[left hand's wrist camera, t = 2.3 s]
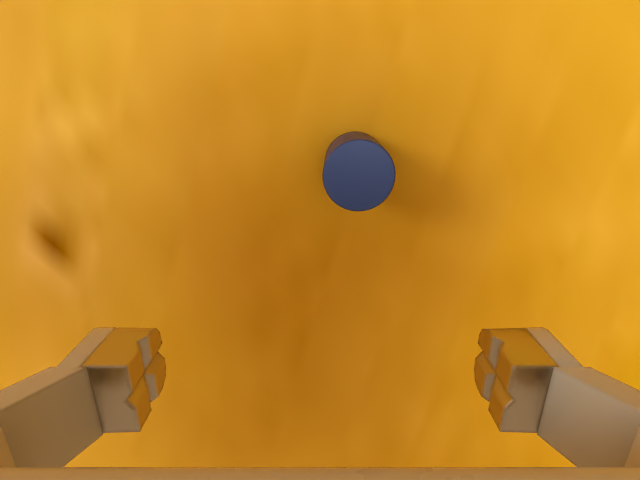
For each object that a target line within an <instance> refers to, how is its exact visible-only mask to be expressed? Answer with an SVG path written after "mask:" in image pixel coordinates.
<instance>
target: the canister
mask: <svg viewBox="0 0 640 480" xmlns="http://www.w3.org/2000/svg"><path fill="white" fill-rule="evenodd" d="M394 182H395V167H394V163H393V160H392V158H391V156H390V155H389V153H388V152H387V151H386V150H385V149H384V148H383V147H382V146H381V145H380V144H379V143H378V142H377V141H376V140H375V139H374V138H373V137H371V136H370V135H368V134H365V133H362V132H348V133H345V134H343V135H341V136H339V137H337V138H336V139H335V140H334V141H333V142H332V143H331V145H330V146H329V148H328V150H327V152H326V156H325V161H324V168H323V184H324V187H325V190H326V192H327V194H328V195H329V197H330V198H331V199H332V201H334V202H335V203H336V204H337V205H339V206H340V207H342V208H344V209H347V210H351V211H365V210H369V209H372V208H374V207H376V206H378V205H379V204H381V203H382V202H383V201H384V200H385V199H386V198H387V197H388V195H389V194H390V192H391V191H392V188H393V186H394Z"/></svg>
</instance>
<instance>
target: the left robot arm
mask: <svg viewBox="0 0 640 480" xmlns="http://www.w3.org/2000/svg"><path fill="white" fill-rule="evenodd" d="M161 344H162V340H161V335H160V332H159V331H158V330H157V329H156V328H115V327H105V328H95V329H93V330H92V331H91V332H90V333H89V334H88V335H87V336H86V337H85V338H84V339H83V340H82V341H81V342H80V343H79V344H78V345H77V346H76V347H75V348H74V349H73V351H72V352H71V353H70V354H69V355H68V356H67V357H66V358H65V359H64V360H63V361H62V362H61V363H60V364H59V365H58V366H57V367H49V368H47V369H45V370H43V371H41V372H39V373H37V374H34V375H32V376H30V377H28V378H26V379H24V380H22V381H20V382H17V383H15V384H13V385H11V386H9V387H7V388H5V389H3V390H0V480H640V391H639V390H637V389H635V388H633V387H631V386H629V385H627V384H625V383H623V382H620V381H618V380H616V379H614V378H612V377H610V376H608V375H606V374H603V373H601V372H599V371H597V370H595V369H593V368H591V367H583V366H582V365H581V364H580V363H579V362H578V361H577V360H576V359H575V358H574V357H573V356H572V355H571V354H570V353H569V352H568V350H567V349H566V348H565V347H564V346H563V345H562V344H561V343H560V342H559V341H558V340H557V339H556V338H555V337H554V336H553V335H552V334H551V333H550V332H549V330H548V329H545V328H543V327H534V328H506V329H482V330H481V332H480V334H479V340H478V344H479V346H480V347H481V349H482V352H481V353H480V354H479V355H478V356H477V357H476V358H475V366H474V374H475V382H476V385H477V389H478V391H479V393H480V395H481V396H482V397H483V398H485V399H486V400H488V401H489V402H490V404H489V412H490V414H491V416H492V417H493V419H494V421H495V423H496V425H497V427H498V429H499V431H500V432H529V433H537V435H538V436H540V437H541V438H542V439H543V440H545V441H546V442H547V443H548V444H550V445H551V446H552V447H553V448H554V449H556V450H557V451H558V452H559V453H561V454H562V455H563V456H564V457H566V458H567V459H568V460H569V461H570V462H572V463H573V464H574V465H575V466H577V467H64V466H65V465H66V464H67V463H68V462H70V461H71V460H72V459H73V458H75V457H76V456H77V455H78V454H80V453H81V452H82V451H83V450H84V449H86V448H87V447H88V446H89V445H91V444H92V443H93V442H94V441H96V440H97V439H98V438H99V437H101V436H102V435H103V433H111V432H140V431H141V429H142V427H143V425H144V423H145V421H146V419H147V418H148V416H149V414H150V412H151V404H150V402H151V401H152V400H154V399H155V398H157V397H158V396H159V395H160V393H161V390H162V388H163V385H164V381H165V376H166V365H165V358H164V357H163V356H162V355H161V354H160V353H159V352H158V349H159V347H160V346H161Z"/></svg>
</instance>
